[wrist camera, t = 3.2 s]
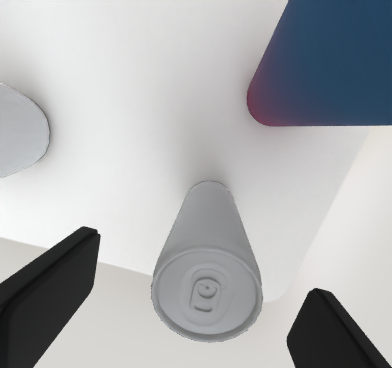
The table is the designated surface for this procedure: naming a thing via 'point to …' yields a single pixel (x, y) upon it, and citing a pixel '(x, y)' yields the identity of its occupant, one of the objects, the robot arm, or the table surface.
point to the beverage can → (207, 270)
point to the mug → (20, 131)
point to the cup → (326, 66)
